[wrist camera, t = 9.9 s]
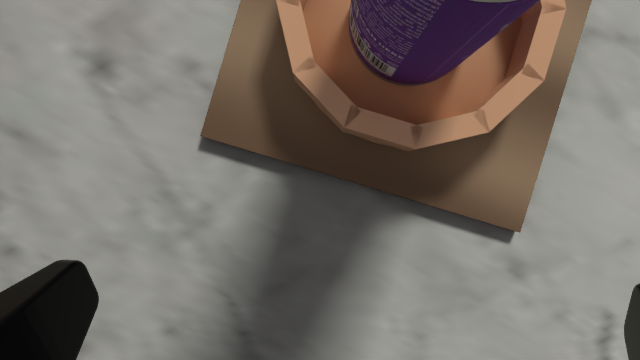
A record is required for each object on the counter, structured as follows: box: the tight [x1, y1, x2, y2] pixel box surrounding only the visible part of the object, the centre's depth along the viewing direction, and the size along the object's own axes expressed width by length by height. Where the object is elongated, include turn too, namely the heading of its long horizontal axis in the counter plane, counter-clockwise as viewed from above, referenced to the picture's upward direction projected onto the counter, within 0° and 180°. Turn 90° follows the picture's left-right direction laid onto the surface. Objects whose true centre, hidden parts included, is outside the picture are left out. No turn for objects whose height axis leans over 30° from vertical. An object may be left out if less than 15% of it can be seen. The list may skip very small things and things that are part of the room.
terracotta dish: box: [276, 0, 566, 152], centre depth 20 cm, size 10×10×2 cm
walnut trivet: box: [201, 0, 592, 232], centre depth 21 cm, size 13×13×1 cm
